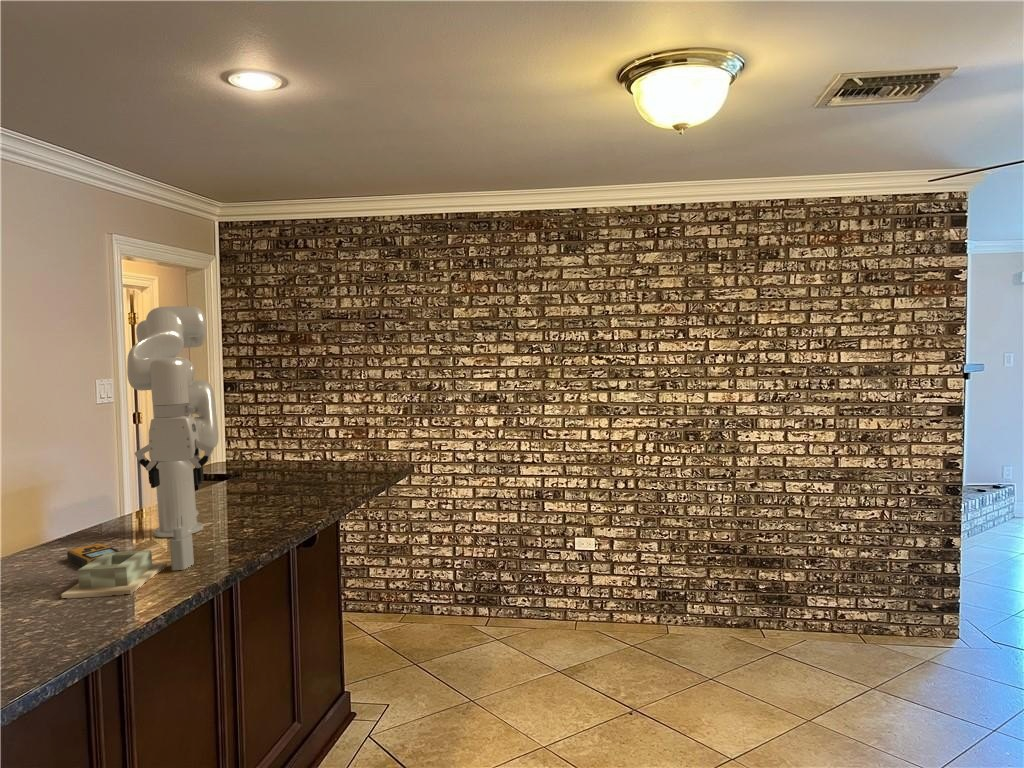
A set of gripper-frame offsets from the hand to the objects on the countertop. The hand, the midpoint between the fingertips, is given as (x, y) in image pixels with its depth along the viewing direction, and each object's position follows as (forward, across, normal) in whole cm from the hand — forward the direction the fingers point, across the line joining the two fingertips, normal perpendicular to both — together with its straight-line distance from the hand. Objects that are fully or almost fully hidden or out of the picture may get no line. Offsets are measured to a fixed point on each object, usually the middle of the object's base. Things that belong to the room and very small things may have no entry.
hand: (176, 485), depth 164 cm
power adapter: (+20, 0, 0) cm, 20 cm away
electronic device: (+20, +24, -9) cm, 33 cm away
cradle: (+19, +11, +8) cm, 24 cm away
